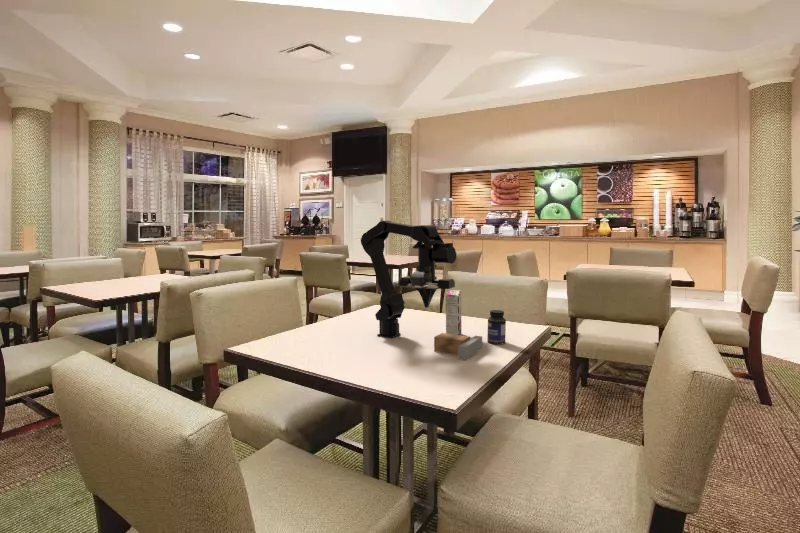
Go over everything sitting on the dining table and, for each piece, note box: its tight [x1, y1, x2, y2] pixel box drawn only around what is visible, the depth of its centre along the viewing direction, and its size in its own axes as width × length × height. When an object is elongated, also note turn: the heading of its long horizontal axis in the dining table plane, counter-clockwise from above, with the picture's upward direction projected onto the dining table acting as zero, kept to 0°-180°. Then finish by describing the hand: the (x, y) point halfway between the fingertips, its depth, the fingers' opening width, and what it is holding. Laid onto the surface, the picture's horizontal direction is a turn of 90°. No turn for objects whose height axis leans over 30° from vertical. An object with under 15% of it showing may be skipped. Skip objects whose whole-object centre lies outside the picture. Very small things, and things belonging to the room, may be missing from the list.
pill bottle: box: [487, 309, 507, 345], centre depth 164 cm, size 6×6×11 cm
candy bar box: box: [445, 289, 463, 336], centre depth 171 cm, size 11×5×16 cm, turn 168°
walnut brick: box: [433, 332, 471, 356], centre depth 154 cm, size 10×6×5 cm, turn 60°
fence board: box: [457, 335, 483, 361], centre depth 151 cm, size 2×15×4 cm, turn 151°
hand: (426, 307), depth 163 cm, fingers closed
